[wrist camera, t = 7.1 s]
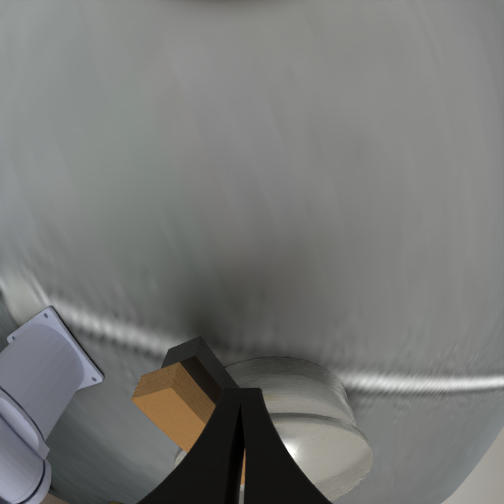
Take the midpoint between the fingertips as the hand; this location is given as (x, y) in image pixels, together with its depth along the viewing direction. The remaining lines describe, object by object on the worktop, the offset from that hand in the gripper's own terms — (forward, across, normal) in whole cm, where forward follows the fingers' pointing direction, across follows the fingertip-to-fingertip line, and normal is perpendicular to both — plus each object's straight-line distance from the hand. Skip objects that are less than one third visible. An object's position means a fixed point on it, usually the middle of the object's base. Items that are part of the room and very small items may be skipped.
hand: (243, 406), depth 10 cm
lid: (+4, 0, +10) cm, 11 cm away
